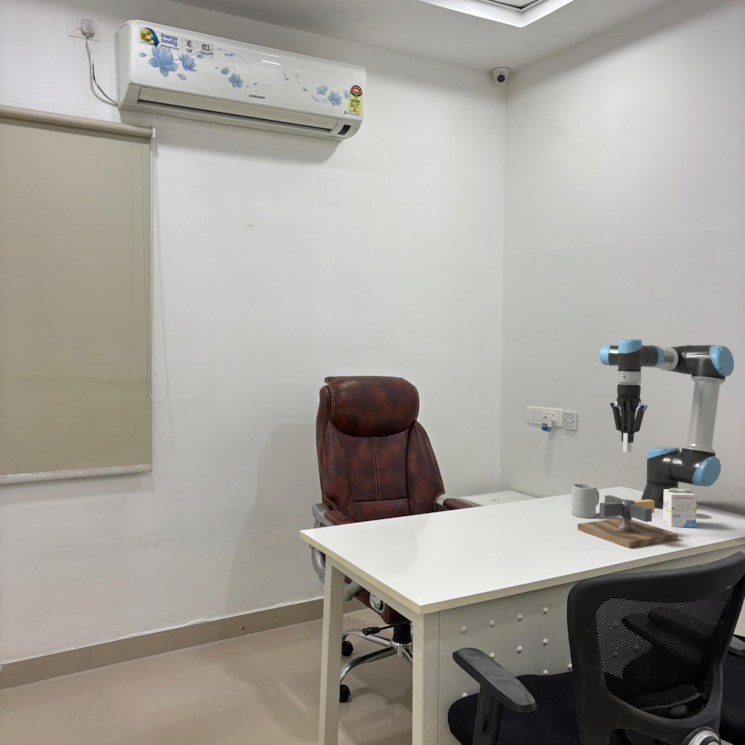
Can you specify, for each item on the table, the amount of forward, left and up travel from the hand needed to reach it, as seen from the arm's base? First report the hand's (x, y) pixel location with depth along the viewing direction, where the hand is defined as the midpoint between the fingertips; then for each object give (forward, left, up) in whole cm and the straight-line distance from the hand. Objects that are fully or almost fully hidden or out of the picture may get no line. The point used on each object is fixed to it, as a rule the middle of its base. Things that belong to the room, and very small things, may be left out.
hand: (627, 451), depth 221 cm
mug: (0, -18, -27) cm, 32 cm away
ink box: (-21, +5, -27) cm, 34 cm away
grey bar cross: (+7, +7, -20) cm, 22 cm away
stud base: (+7, +7, -26) cm, 28 cm away
